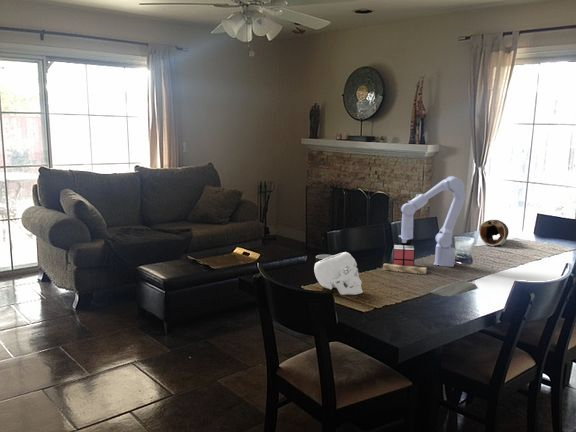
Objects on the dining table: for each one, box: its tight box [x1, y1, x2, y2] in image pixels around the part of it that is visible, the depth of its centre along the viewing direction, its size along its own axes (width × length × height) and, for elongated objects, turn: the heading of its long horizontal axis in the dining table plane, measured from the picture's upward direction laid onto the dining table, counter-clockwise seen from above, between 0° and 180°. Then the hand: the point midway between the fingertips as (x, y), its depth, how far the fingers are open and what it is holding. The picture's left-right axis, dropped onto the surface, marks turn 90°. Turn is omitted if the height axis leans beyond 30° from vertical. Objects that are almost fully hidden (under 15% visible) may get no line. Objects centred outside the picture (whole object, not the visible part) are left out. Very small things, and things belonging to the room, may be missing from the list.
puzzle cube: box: [392, 244, 416, 266], centre depth 253 cm, size 10×10×10 cm
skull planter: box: [313, 251, 364, 296], centre depth 217 cm, size 14×20×19 cm
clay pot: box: [478, 219, 510, 247], centre depth 308 cm, size 15×15×25 cm
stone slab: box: [429, 280, 478, 297], centre depth 218 cm, size 22×3×10 cm
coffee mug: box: [315, 254, 333, 263], centre depth 235 cm, size 12×9×10 cm
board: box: [382, 263, 427, 275], centre depth 246 cm, size 20×3×2 cm, turn 67°
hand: (406, 254), depth 260 cm, fingers closed
